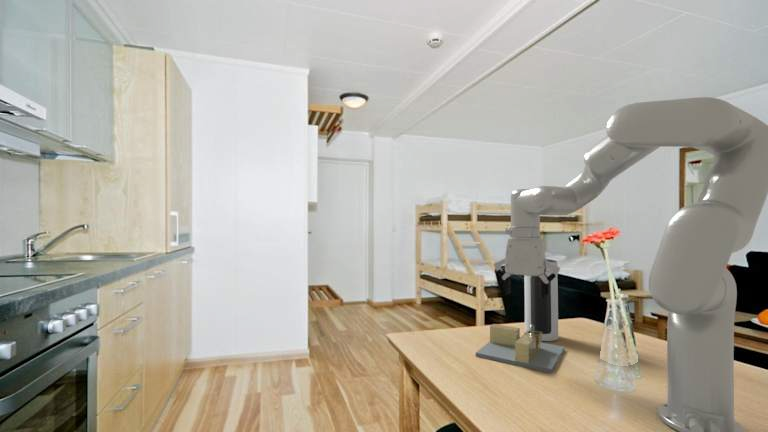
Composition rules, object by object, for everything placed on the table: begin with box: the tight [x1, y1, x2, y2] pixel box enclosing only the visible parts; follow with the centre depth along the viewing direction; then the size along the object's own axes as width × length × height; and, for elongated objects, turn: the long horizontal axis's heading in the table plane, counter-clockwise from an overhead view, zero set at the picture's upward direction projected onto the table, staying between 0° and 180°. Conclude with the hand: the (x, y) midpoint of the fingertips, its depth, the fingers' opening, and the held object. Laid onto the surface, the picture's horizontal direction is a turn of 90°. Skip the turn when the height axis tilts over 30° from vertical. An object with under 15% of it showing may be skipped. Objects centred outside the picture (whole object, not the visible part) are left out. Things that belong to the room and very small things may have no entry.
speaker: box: [523, 258, 559, 343], centre depth 121 cm, size 11×10×26 cm
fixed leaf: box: [489, 323, 542, 352], centre depth 110 cm, size 4×14×7 cm, turn 55°
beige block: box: [515, 330, 543, 364], centre depth 102 cm, size 14×4×5 cm, turn 144°
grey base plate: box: [475, 340, 565, 374], centre depth 106 cm, size 20×20×1 cm
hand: (525, 295), depth 100 cm, fingers open, 9 cm apart
